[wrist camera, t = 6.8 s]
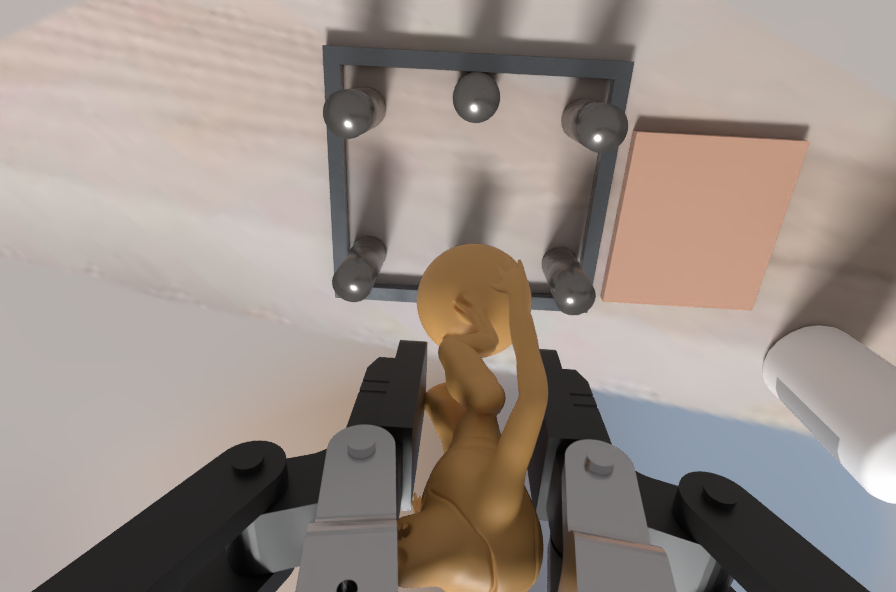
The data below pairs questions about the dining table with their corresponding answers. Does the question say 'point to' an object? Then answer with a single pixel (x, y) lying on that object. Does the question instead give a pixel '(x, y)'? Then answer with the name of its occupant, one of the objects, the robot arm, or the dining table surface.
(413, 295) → the standoff field
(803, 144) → the terracotta tile
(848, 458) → the white piece
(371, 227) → the dining table surface
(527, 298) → the figurine
